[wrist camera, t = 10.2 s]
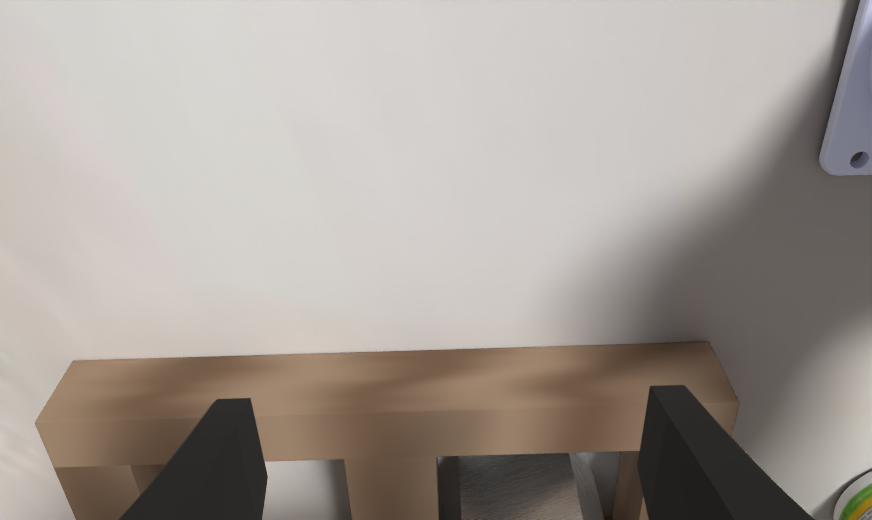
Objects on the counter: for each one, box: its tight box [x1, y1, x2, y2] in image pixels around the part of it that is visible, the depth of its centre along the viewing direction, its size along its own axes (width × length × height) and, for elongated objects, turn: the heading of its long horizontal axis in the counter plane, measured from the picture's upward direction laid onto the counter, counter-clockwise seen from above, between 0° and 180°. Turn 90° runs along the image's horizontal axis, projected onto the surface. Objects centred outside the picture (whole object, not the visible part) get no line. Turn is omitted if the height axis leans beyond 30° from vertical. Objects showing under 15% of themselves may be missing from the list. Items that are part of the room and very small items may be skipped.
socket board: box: [35, 342, 739, 520], centre depth 28 cm, size 22×11×3 cm, turn 92°
